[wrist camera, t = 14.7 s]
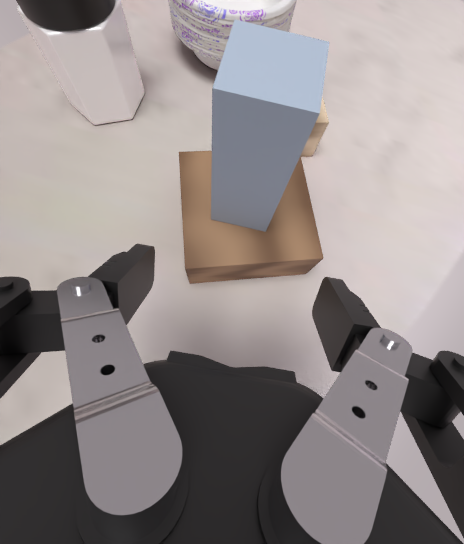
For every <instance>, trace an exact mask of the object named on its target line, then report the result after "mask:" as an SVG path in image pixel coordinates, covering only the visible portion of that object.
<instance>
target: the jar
mask: <svg viewBox="0 0 464 544" xmlns="http://www.w3.org/2000/svg"><path fill="white" fill-rule="evenodd" d="M16 1H17V3H18V4H19V6H18V7H17V10H18V12H19V13H20V15H21V17H22V19H23V21H24V22H25V24H26V26H27V28H28V29H29V31H30V33H31V35H32V37H33V38H34V40H35V42H36V44H37V45H38V47H39V49H40V51H41V52H42V54H43V56H44V58H45V60H46V61H47V63H48V65H49V67H50V68H51V70H52V72H53V74H54V75H55V77H56V79H57V81H58V82H59V84H60V86H61V88H62V90H63V91H64V93H65V95H66V97H67V98H68V100H69V102H70V104H71V105H73V106H74V107H75V108H76V109H77V110H78V111H79V112H80V113H81V114H82V115H84V116H85V117H86V118H87V119H88V120H89V121H90V122H91V123H92V124H94V125H99V124H105V123H112V122H118V121H124V120H130V119H133V117H134V115H135V112H136V110H137V108H138V106H139V104H140V102H141V100H142V98H143V96H144V94H145V91H144V88H143V84H142V80H141V76H140V72H139V68H138V64H137V61H136V57H135V53H134V49H133V45H132V41H131V37H130V34H129V30H128V26H127V22H126V18H125V14H124V10H123V7H122V3H121V0H16Z"/></svg>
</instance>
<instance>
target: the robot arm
mask: <svg viewBox="0 0 464 544" xmlns="http://www.w3.org/2000/svg"><path fill="white" fill-rule="evenodd" d="M154 262H155V249H154V247H153V246H147V245H142V244H136V245H135V246H133V247H132V248H131V249H130V250H129V251H128V252H121V253H119V254H116V255H113V256H112V257H111V258H110V259H109V260H107V262H105V263H104V264H103V265H102V266H100V267H99V268H98V269H97V270H95V271H94V272H93V273H92V274H91V275H89V276H88V277H77V278H72V279H69V280H66V281H64V282H62V283H61V284H60V285H59V286H58V287H57V290H54V291H31V287H30V283H29V281H28V280H26V279H24V278H21V277H0V398H1V397H2V396H3V395H4V394H5V393H6V392H7V391H8V389H9V388H10V387H11V386H12V385H13V384H14V383H15V382H16V381H17V379H18V378H19V377H20V376H21V375H22V374H23V373H24V372H25V370H26V369H27V368H28V367H29V366H30V365H31V364H32V363H33V362H34V360H35V359H36V358H37V357H38V356H39V355H40V354H41V352H49V351H63V350H65V352H66V359H67V366H68V373H69V380H70V386H71V393H72V400H73V403H72V404H71V405H69V406H67V407H66V408H64V409H62V410H60V411H59V412H57V413H55V414H54V415H52V416H50V417H48V418H47V419H45V420H43V421H42V422H40V423H38V424H36V425H35V426H33V427H31V428H30V429H28V430H26V431H24V432H23V433H21V434H19V435H18V436H16V437H14V438H12V439H11V440H9V441H7V442H6V443H4V444H2V445H0V544H463V543H462V542H461V541H460V540H459V539H458V538H457V536H455V534H454V533H453V532H452V531H451V530H450V529H449V528H448V527H447V526H446V525H445V524H444V523H443V522H442V521H441V520H440V519H439V518H438V517H437V516H436V515H435V514H434V513H433V511H431V509H430V508H429V507H428V506H427V505H426V504H425V503H424V502H423V501H422V500H421V499H420V498H419V497H418V496H417V495H416V494H415V493H414V492H413V491H412V490H411V489H410V488H409V487H408V485H406V483H405V482H404V481H403V480H402V479H401V478H400V477H399V476H398V475H397V474H396V473H395V472H394V471H393V470H392V469H391V468H390V467H389V466H388V465H387V464H386V459H387V454H388V451H389V448H390V445H391V441H392V437H393V434H394V430H395V427H396V424H397V420H398V417H399V413H400V411H401V413H402V415H403V417H404V419H405V421H406V423H407V425H408V427H409V429H410V431H411V433H412V435H413V437H414V439H415V441H416V443H417V445H418V447H419V449H420V451H421V453H422V455H423V457H424V459H425V461H426V463H427V465H428V467H429V469H430V471H431V473H432V475H433V477H434V479H435V481H436V483H437V485H438V487H439V489H440V491H441V493H442V496H443V497H444V500H445V501H446V503H447V506H448V508H449V510H450V512H451V514H452V516H453V518H454V520H455V522H456V524H457V526H458V528H459V530H460V532H461V534H462V536H463V538H464V439H463V438H462V437H461V435H460V433H459V432H458V430H457V429H456V427H455V426H454V424H453V423H452V420H453V419H454V418H455V417H456V416H457V415H458V413H460V411H461V412H462V414H463V415H464V357H463V356H461V355H459V354H456V353H453V352H450V351H440V352H439V353H438V354H437V355H436V357H435V358H434V360H431V359H428V358H426V357H423V356H420V355H417V354H415V353H412V347H411V345H410V344H409V343H408V342H407V341H406V340H405V339H404V338H402V337H401V336H400V335H398V334H396V333H394V332H392V331H390V330H387V329H383V328H381V327H380V326H379V324H378V323H377V321H376V320H375V319H374V317H373V316H372V314H371V313H369V310H368V309H367V307H365V304H364V303H363V301H362V300H361V299H360V298H359V297H358V296H357V295H355V294H354V293H353V292H351V291H350V290H349V289H348V287H347V286H346V284H345V283H344V281H343V280H341V279H335V278H330V277H325V278H324V279H323V281H322V283H321V286H320V289H319V291H318V294H317V297H316V300H315V302H314V305H313V310H312V316H313V319H314V322H315V325H316V328H317V331H318V334H319V336H320V339H321V342H322V345H323V348H324V351H325V353H326V356H327V359H328V362H329V365H330V367H331V370H332V371H336V372H341V373H340V375H339V376H338V378H337V379H336V381H335V382H334V384H333V385H332V387H331V388H330V390H329V391H328V393H327V395H326V396H325V398H324V399H323V398H322V397H321V396H320V395H318V394H317V393H316V392H314V391H313V390H311V389H309V388H308V387H306V386H304V385H302V384H300V383H297V382H296V377H295V372H293V371H287V370H281V369H275V368H270V367H241V368H233V367H229V366H226V365H224V364H221V363H218V362H216V361H213V360H211V359H208V358H206V357H203V356H199V355H194V354H188V353H182V352H176V351H170V353H169V356H168V359H167V360H160V361H154V362H150V363H146V364H143V363H142V361H141V359H140V356H139V354H138V352H137V349H136V347H135V345H134V342H133V340H132V338H131V335H130V333H129V331H128V328H127V326H126V325H127V324H128V322H129V321H130V319H131V318H132V316H133V315H134V313H135V312H136V310H137V309H138V308H139V306H140V305H141V303H142V302H143V300H144V299H145V297H146V296H147V294H148V293H149V291H150V290H151V288H152V285H153V281H154Z"/></svg>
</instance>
